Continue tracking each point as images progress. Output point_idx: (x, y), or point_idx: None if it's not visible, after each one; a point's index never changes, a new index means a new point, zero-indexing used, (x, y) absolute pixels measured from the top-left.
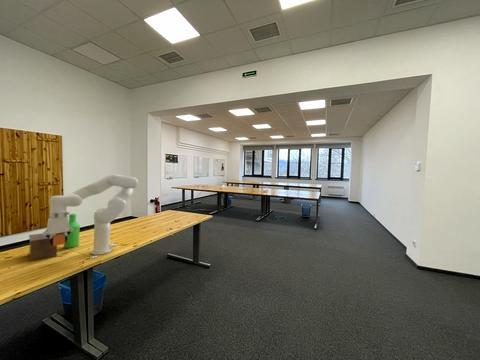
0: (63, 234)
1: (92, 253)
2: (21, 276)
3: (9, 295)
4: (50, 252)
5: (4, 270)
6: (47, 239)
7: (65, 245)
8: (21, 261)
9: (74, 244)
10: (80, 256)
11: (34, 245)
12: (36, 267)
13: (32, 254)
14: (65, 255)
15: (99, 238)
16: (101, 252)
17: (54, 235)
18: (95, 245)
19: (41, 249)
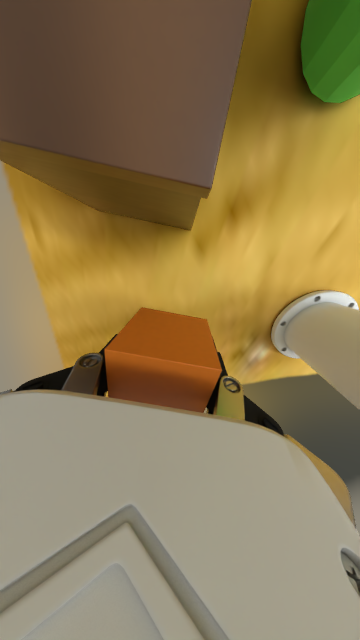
0: (203, 398)
1: (272, 333)
2: (86, 346)
3: None
4: (164, 219)
5: (29, 253)
6: (105, 170)
7: (315, 23)
8: None
9: (357, 83)
10: (239, 317)
11: (31, 169)
12: (116, 310)
13: (81, 199)
14: (217, 255)
15: (349, 400)
16: (289, 353)
17: (125, 369)
18: (306, 354)
19: (111, 199)
